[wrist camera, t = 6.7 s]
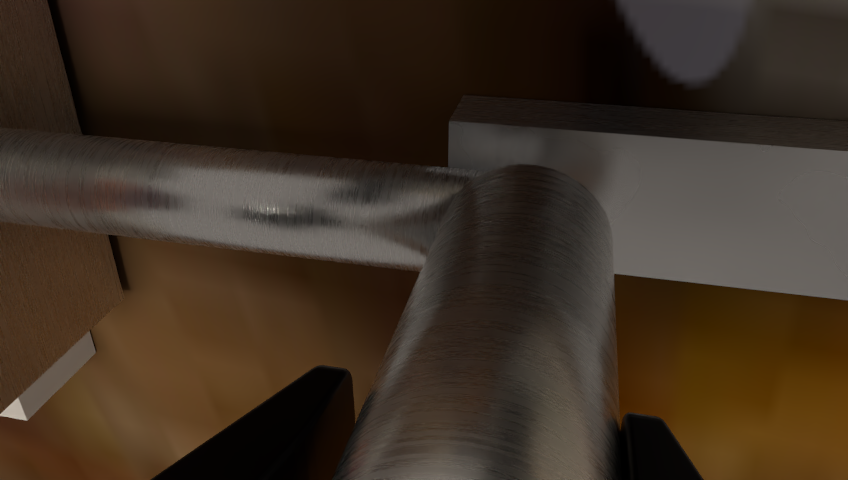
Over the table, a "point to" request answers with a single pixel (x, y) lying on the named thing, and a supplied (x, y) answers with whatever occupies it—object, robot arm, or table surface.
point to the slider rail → (686, 186)
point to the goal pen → (51, 380)
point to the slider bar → (339, 242)
